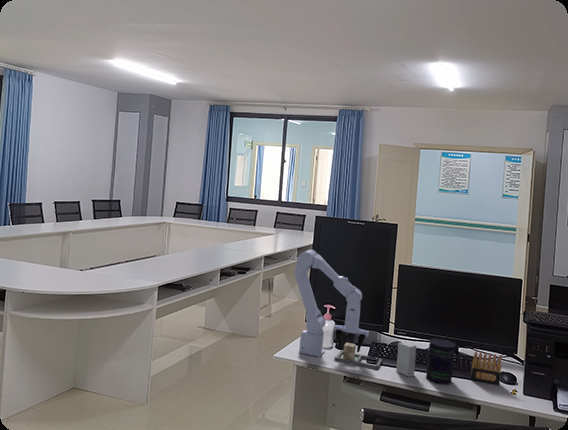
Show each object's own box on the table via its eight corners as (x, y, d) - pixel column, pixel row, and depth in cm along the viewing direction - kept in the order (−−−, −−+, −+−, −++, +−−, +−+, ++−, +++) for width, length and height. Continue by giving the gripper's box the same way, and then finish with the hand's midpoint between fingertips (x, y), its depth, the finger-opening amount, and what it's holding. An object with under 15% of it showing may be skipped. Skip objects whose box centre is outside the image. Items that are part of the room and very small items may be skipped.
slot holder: (334, 360, 216) (334, 357, 216) (340, 353, 225) (341, 350, 225) (377, 369, 209) (377, 366, 209) (382, 361, 219) (382, 358, 219)
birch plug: (342, 359, 217) (344, 345, 217) (345, 356, 221) (346, 342, 221) (352, 361, 216) (353, 347, 215) (354, 358, 220) (355, 344, 219)
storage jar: (451, 386, 198) (455, 348, 196) (424, 381, 201) (428, 344, 199) (451, 377, 207) (455, 341, 206) (426, 372, 210) (430, 336, 209)
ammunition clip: (470, 380, 206) (473, 350, 205) (470, 378, 208) (473, 349, 207) (499, 385, 203) (502, 355, 202) (499, 383, 205) (502, 354, 203)
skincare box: (414, 375, 207) (417, 345, 205) (407, 377, 204) (410, 347, 203) (402, 369, 211) (405, 340, 210) (395, 371, 208) (398, 342, 207)
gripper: (371, 319, 218) (368, 350, 219) (338, 313, 223) (335, 343, 225) (368, 323, 212) (364, 355, 213) (333, 316, 217) (330, 348, 218)
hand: (349, 349), depth 218 cm, fingers open, 7 cm apart
